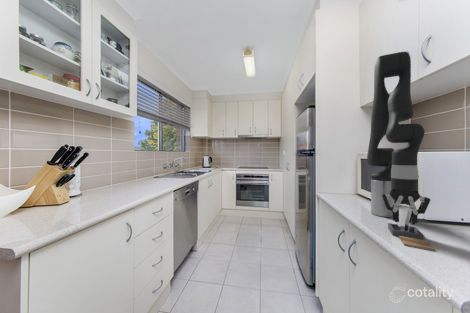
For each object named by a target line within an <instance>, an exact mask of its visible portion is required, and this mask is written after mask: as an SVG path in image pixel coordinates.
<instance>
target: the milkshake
mask: <svg viewBox="0 0 470 313" xmlns="http://www.w3.org/2000/svg"><path fill="white" fill-rule="evenodd" d="M397 213H398V222H396V224H397V228H398V229H399V230H400V231H406V232H408V231H409V228H410V226H411V224H412V223H411V217H412V213H413V210H412V208H411V207H409V205H405V204H400V206H399V207H398V210H397Z"/></svg>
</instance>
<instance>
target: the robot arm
mask: <svg viewBox="0 0 470 313" xmlns="http://www.w3.org/2000/svg"><path fill="white" fill-rule="evenodd" d="M376 58H377V59H376V60H375V64H374V69H373V70H374V72H373V73H374V75H373V76H374V77H373V80H374V81H373V91H374V92H373V98H372V99H373V101H372V108H371V119H370V135H369V136H370V137H369V143H368V148H367V156H366V160H367V164H368V165H369V166H370V167H384V169H382V170H380V171H378V172H374V173H372V174H371V175H370V213H371V214H372V215H375V216H379V217H383V218H384V217H385V218H392V220H393V221H394V222H395V223H397V222H398V213H397V210H398V207H399V206H400V205H405V206H408V207H411V208H412V210H413V213H412V217H411V223H410V224H411V225H416V224H417V223H418V216H419V215H421V214H425V213H426V211H427V209H428V207H429V204H430V203H431V198H430V197H428V196H422V195H420V193H419V178H420V176H419V168H418V154H419V150H420V146H421V145H422V141H423V140H424V137H425V128H424V126H423V125H422V124H420V123H402V124H401V122H405V121H408V120H410V119H412V118H413V116H414V115H415V114H414V106H413V102H412V96H411V95H412V94H411V82H412V78H411V77H412V72H411V71H412V64H411V63H412V61H411V55H410V53H409V52H408V51H400V52H399V51H398V52H394V53H390V54H389V53H387V54H383V55H380V56H378V57H376ZM394 77H398V78H399V79H398V83H397V85H396V86H395V88H394V89H393V91H392V92H391V93H390V94H389V91H388V89H387V88H386V83H385V79H388V78H394ZM384 137H385V138H386V140H387V141H388V142H390V143H391V144H405V143H407V144H406V146H405V147H404V148H398V149H394V148H393V147H379V144H380V142H381V141H382V139H383V138H384ZM418 200H419V202H420V204H419V206H418V208H417V206H416V204H415V203H416V202H417V201H418Z"/></svg>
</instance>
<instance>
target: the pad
mask: <svg viewBox="0 0 470 313" xmlns="http://www.w3.org/2000/svg"><path fill="white" fill-rule="evenodd" d="M398 239H399V240H400V241H401V243H402V244H403V246H406V247H411V248H412V247H413V248H416V249H420V250H421V249H422V250H427V251H433V252H435V251H436V249H435V247H433V245H432V244H430V242H428V240H427V239H424V240H422V239H416V238H410V237H404V236H398Z"/></svg>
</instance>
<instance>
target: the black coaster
mask: <svg viewBox="0 0 470 313" xmlns="http://www.w3.org/2000/svg"><path fill="white" fill-rule="evenodd" d="M387 228H388V230H389V232H390V233H391V235H392V236H395V237H399V236H404V237H410V238H416V239H422V240H425V239H424V234H423V232H421V231H420V230H419V228H418V227H417V226H411V225H410V228H409V231H402V230H399V229H398V228H397V223H392V222H391V223H390V222H388V223H387Z"/></svg>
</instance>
